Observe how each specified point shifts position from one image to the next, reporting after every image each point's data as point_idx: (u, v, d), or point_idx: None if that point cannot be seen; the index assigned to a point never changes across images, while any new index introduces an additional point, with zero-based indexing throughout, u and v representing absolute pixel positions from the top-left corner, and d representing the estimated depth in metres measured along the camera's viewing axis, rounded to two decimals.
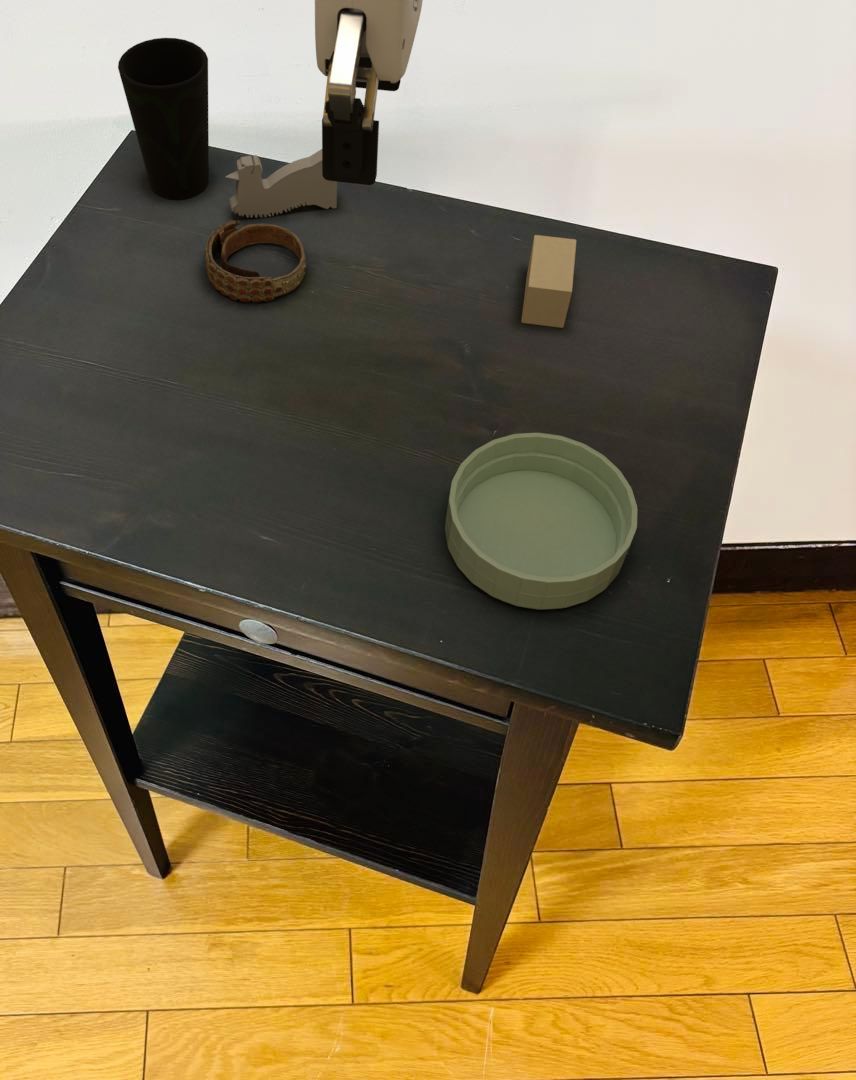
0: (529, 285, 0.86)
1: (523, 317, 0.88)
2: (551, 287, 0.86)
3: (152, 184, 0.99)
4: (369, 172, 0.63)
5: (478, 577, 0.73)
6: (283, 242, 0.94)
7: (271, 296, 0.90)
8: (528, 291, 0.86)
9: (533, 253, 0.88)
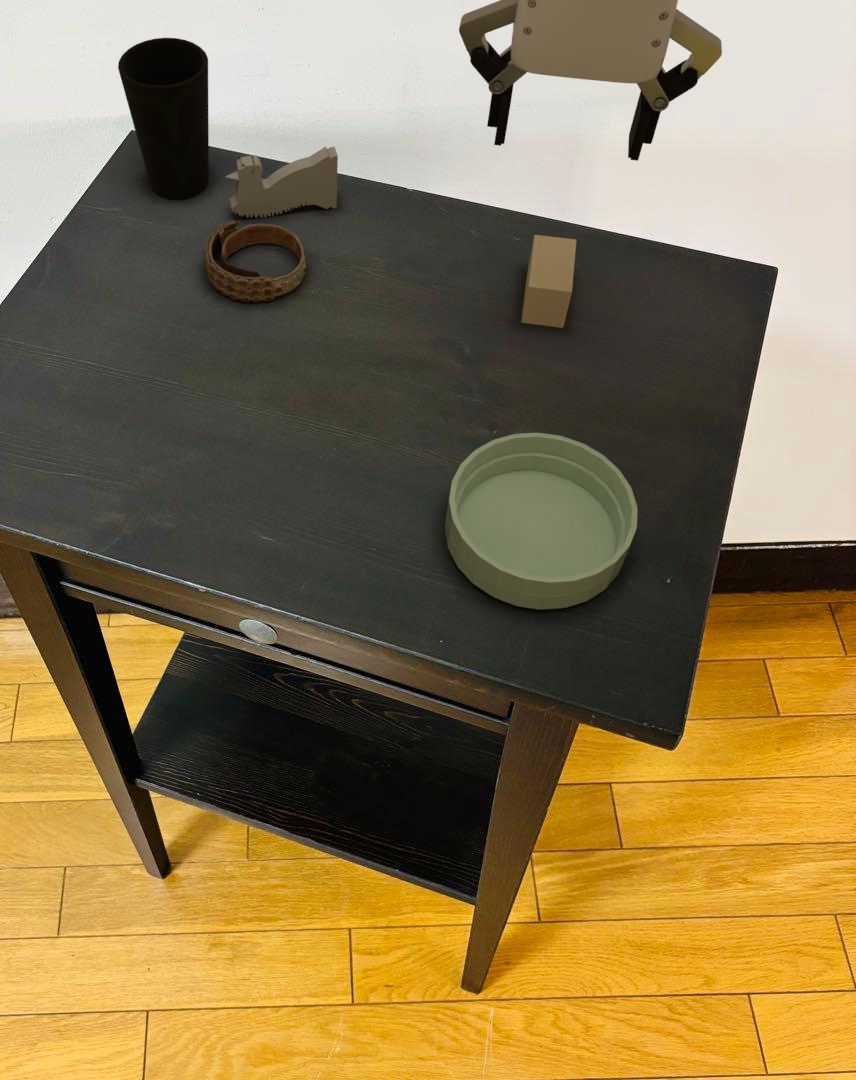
0: (529, 285, 0.86)
1: (523, 317, 0.88)
2: (551, 287, 0.86)
3: (152, 184, 0.99)
4: None
5: (478, 577, 0.73)
6: (283, 242, 0.94)
7: (271, 296, 0.90)
8: (528, 291, 0.86)
9: (533, 253, 0.88)
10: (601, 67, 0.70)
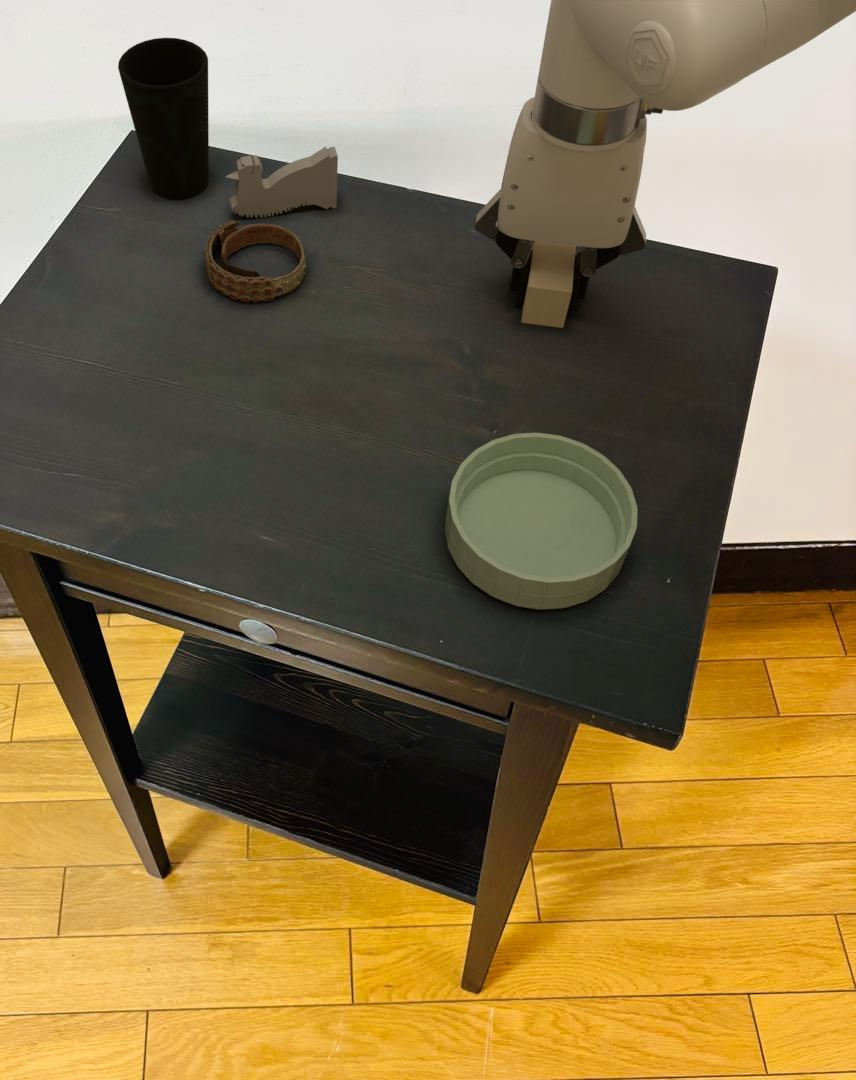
0: (529, 285, 0.86)
1: (523, 317, 0.88)
2: (551, 287, 0.86)
3: (152, 184, 0.99)
4: None
5: (478, 577, 0.73)
6: (283, 242, 0.94)
7: (271, 296, 0.90)
8: (528, 291, 0.86)
9: (533, 253, 0.88)
10: (575, 236, 0.82)
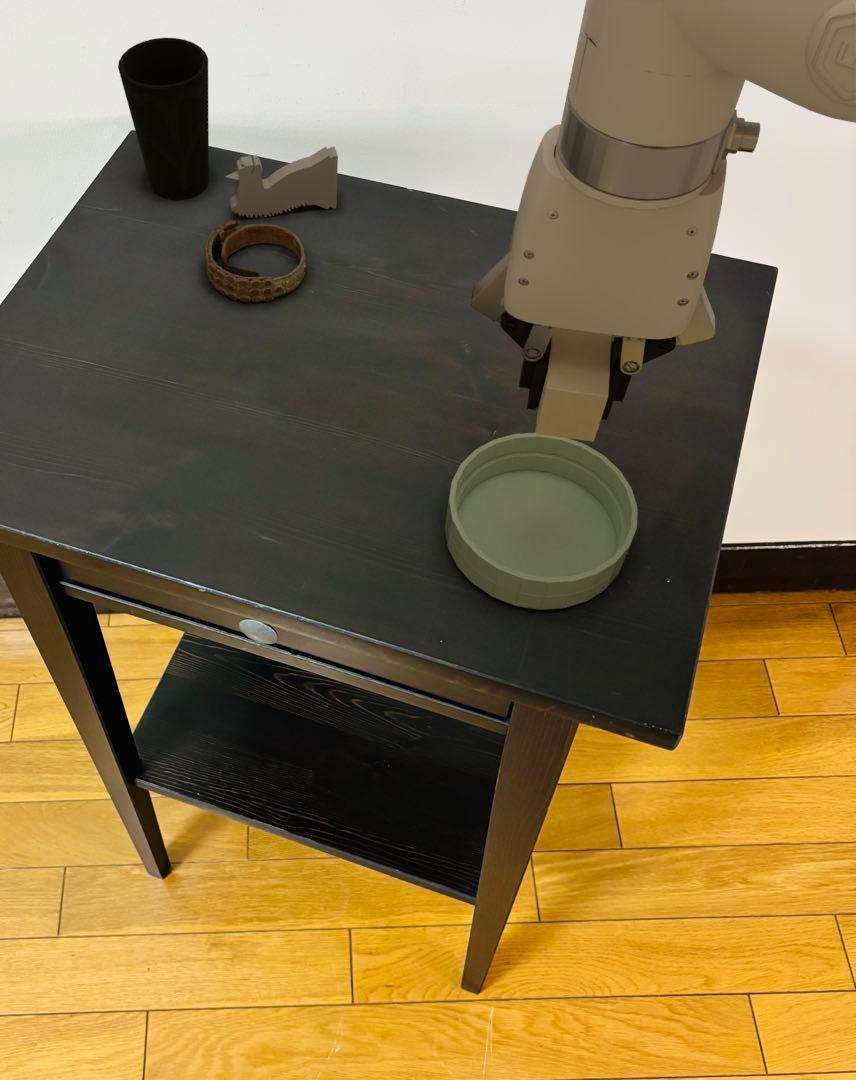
0: (547, 386, 0.61)
1: (538, 426, 0.63)
2: (578, 390, 0.61)
3: (152, 184, 0.99)
4: None
5: (478, 577, 0.73)
6: (283, 242, 0.94)
7: (271, 296, 0.90)
8: (546, 394, 0.61)
9: (553, 338, 0.63)
10: (614, 323, 0.57)
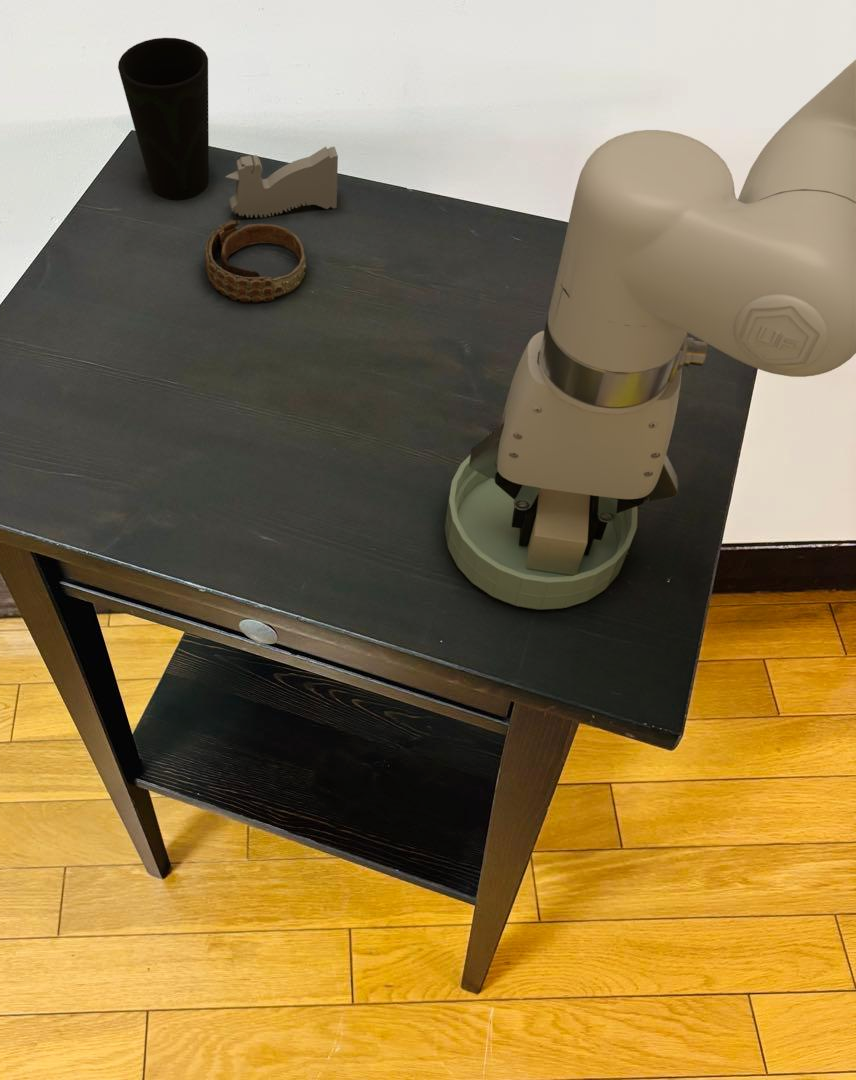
0: (535, 533, 0.71)
1: (528, 563, 0.74)
2: (561, 537, 0.71)
3: (152, 184, 0.99)
4: None
5: (478, 577, 0.73)
6: (283, 242, 0.94)
7: (271, 296, 0.90)
8: (534, 539, 0.71)
9: None
10: (591, 487, 0.67)
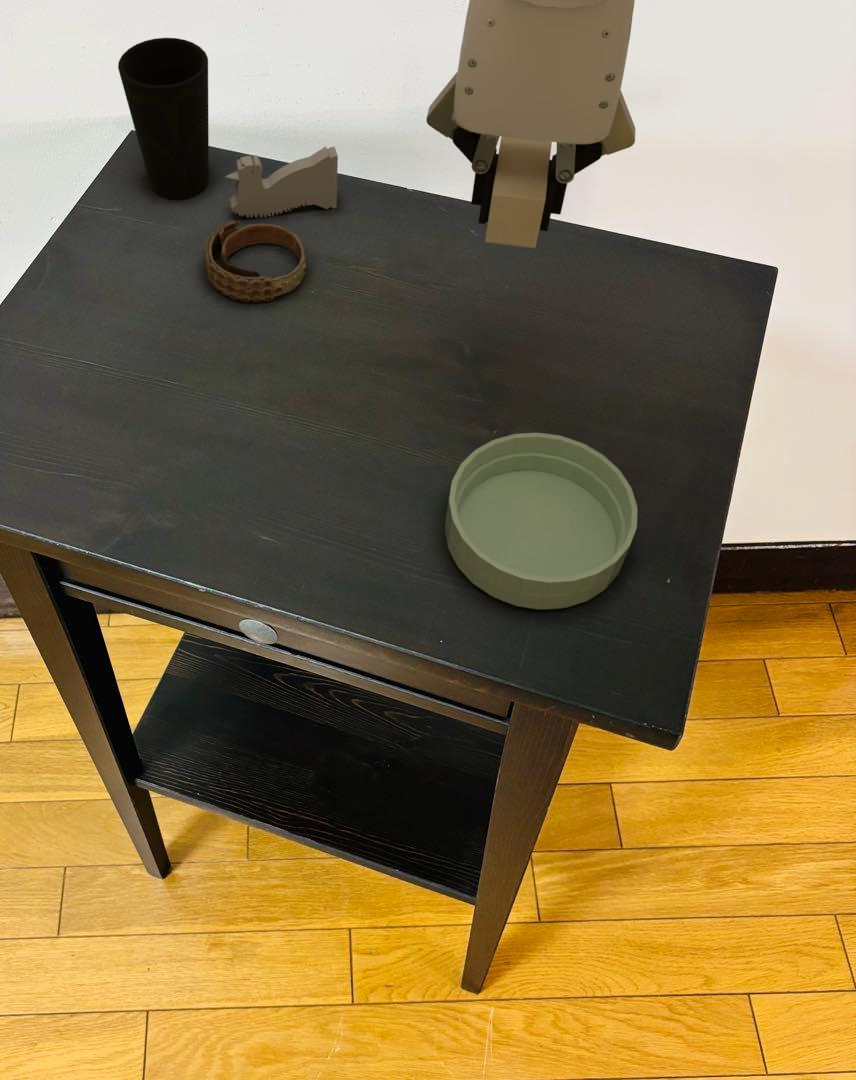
0: (493, 193, 0.70)
1: (487, 235, 0.73)
2: (519, 195, 0.70)
3: (152, 184, 0.99)
4: None
5: (478, 577, 0.73)
6: (283, 242, 0.94)
7: (271, 296, 0.90)
8: (492, 200, 0.71)
9: (499, 157, 0.73)
10: (547, 128, 0.67)
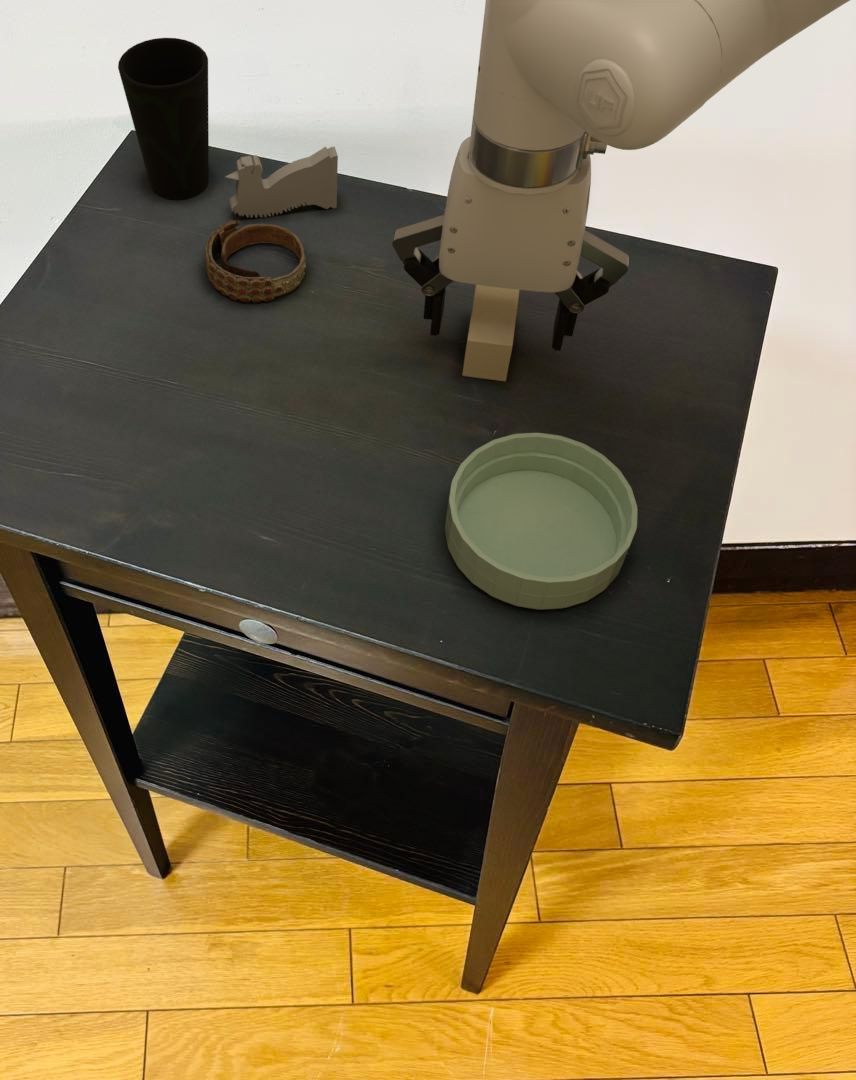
0: (468, 339, 0.82)
1: (464, 370, 0.85)
2: (490, 341, 0.82)
3: (152, 184, 0.99)
4: None
5: (478, 577, 0.73)
6: (283, 242, 0.94)
7: (271, 296, 0.90)
8: (467, 345, 0.83)
9: (474, 304, 0.85)
10: (519, 280, 0.78)
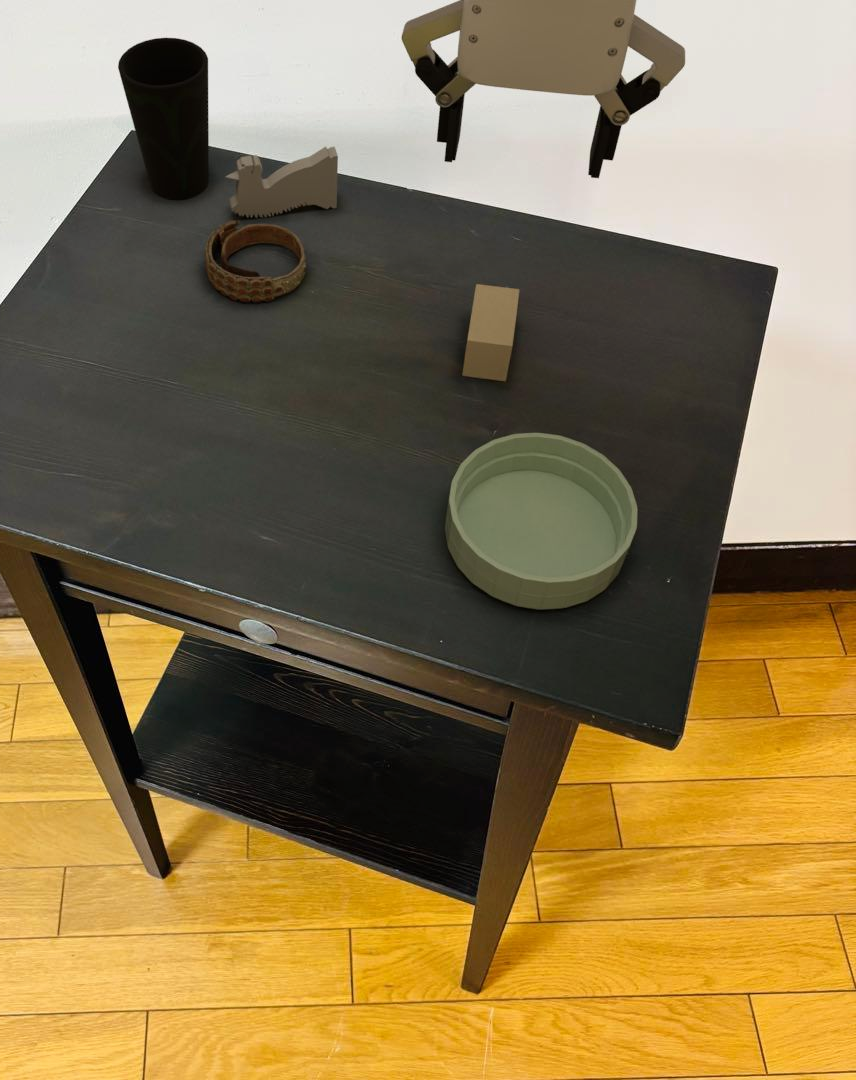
0: (468, 339, 0.82)
1: (464, 370, 0.85)
2: (490, 341, 0.82)
3: (152, 184, 0.99)
4: None
5: (478, 577, 0.73)
6: (283, 242, 0.94)
7: (271, 296, 0.90)
8: (467, 345, 0.83)
9: (474, 304, 0.85)
10: (554, 78, 0.65)
